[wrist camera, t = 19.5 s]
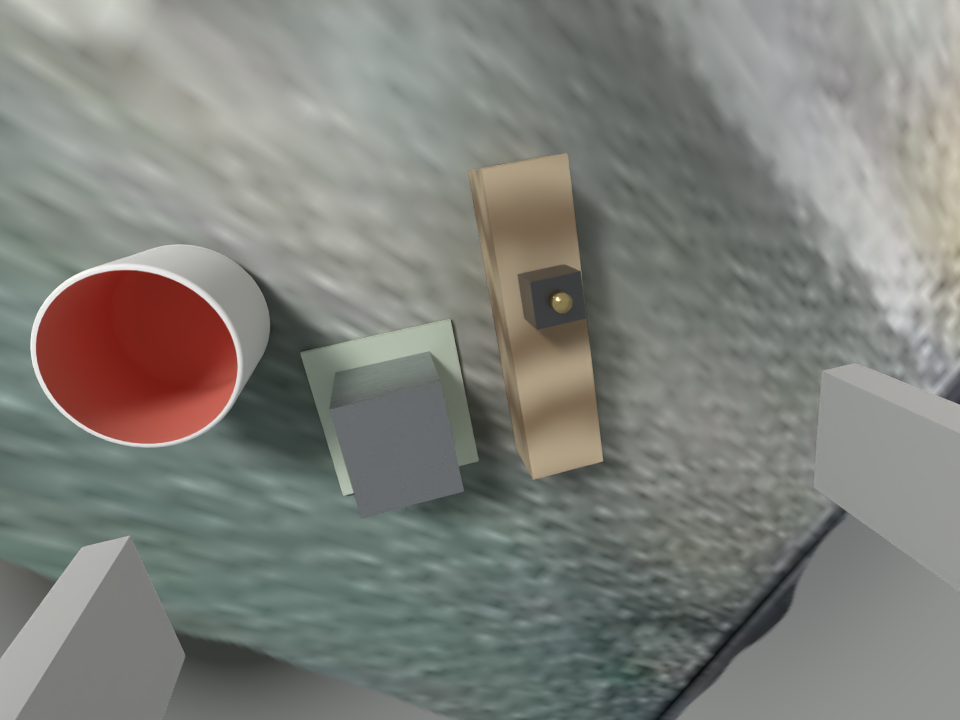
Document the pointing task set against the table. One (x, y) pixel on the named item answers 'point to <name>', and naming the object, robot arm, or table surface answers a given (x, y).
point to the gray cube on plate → (395, 434)
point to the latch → (552, 296)
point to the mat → (384, 348)
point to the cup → (151, 344)
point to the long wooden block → (523, 349)
